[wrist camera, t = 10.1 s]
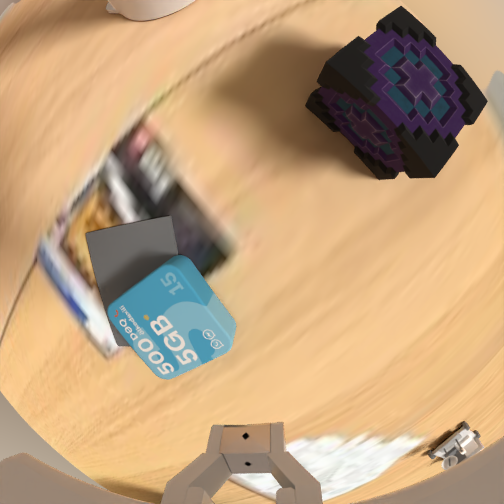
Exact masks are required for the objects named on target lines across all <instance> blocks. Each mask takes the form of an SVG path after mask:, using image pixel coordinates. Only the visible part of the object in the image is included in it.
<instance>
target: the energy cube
mask: <svg viewBox="0 0 504 504" xmlns="http://www.w3.org/2000/svg"><path fill="white" fill-rule="evenodd" d="M317 83H318V84H319V85H320V86H322V87H320V88H319V89H317V90H315V91H314V92H312V93H311V95H310V97H309V99H308V101H307V103H306V105H305V106H306V107H307V108H308V109H309V110H310V111H311V112H312V113H314V114H315V115H316V116H317V117H318V118H319V119H320V120H321V121H322V122H323V123H325V124H326V125H327V126H328V127H329V128H330V129H331V130H332V131H333V132H337V131H340V132H341V133H342V134H343V135H344V136H345V137H346V138H347V139H348V140H349V141H350V142H351V143H352V144H353V145H354V146H355V149H354V153H355V154H356V155H357V156H358V157H359V158H360V159H361V160H362V161H363V163H364V164H365V165H366V166H367V167H368V168H369V169H370V170H371V171H372V172H373V174H374V175H375V176H376V177H377V178H378V179H379V180H383V179H395V178H396V177H397V175H398V174H399V172H404V171H405V173H406V174H407V175H408V177H409V178H435V177H436V176H437V174H438V173H439V172H440V170H441V169H442V168H443V166H444V165H445V164H446V162H447V161H448V160H449V158H450V157H451V156H452V154H453V153H454V152H455V150H456V149H457V147H458V146H459V145H458V143H457V141H456V139H455V138H456V136H457V135H458V133H459V132H460V131H461V129H462V128H463V126H464V125H472V124H474V122H475V121H476V119H477V118H478V116H479V115H480V113H481V112H482V110H483V108H484V107H485V105H486V103H487V102H488V101H487V99H486V98H485V96H484V95H483V94H482V92H481V91H480V89H479V88H478V87H477V85H476V84H475V82H474V81H473V80H472V78H471V77H470V76H469V75H468V73H467V72H466V71H465V70H464V68H463V67H462V66H461V65H455V64H452V63H451V61H450V60H449V59H448V58H447V57H446V56H445V55H444V54H443V52H442V51H441V50H440V49H439V48H438V47H437V46H436V37H435V36H434V35H433V34H432V33H431V32H430V31H429V30H428V29H427V28H426V27H425V26H424V25H423V24H422V23H421V22H419V21H418V20H417V19H416V18H415V17H414V16H413V15H412V14H410V13H409V12H408V11H407V10H406V9H405V8H403V7H402V6H400V7H398V8H397V9H395V10H394V11H392V12H391V13H389V14H388V15H387V16H385V17H384V18H382V19H381V20H379V22H378V23H377V25H376V31H375V32H374V33H373V34H371V35H370V36H369V37H368V38H366V39H365V40H364V39H362V38H361V37H359V36H358V37H356V38H355V39H354V40H353V41H351V42H350V43H349V44H347V45H346V46H345V47H344V48H342V49H341V50H340V51H339V52H337V53H336V54H335V55H334V56H333V57H331V58H330V59H329V60H328V61H327V62H326V63H325V65H324V67H323V69H322V71H321V74H320V76H319V78H318V80H317Z"/></svg>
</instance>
